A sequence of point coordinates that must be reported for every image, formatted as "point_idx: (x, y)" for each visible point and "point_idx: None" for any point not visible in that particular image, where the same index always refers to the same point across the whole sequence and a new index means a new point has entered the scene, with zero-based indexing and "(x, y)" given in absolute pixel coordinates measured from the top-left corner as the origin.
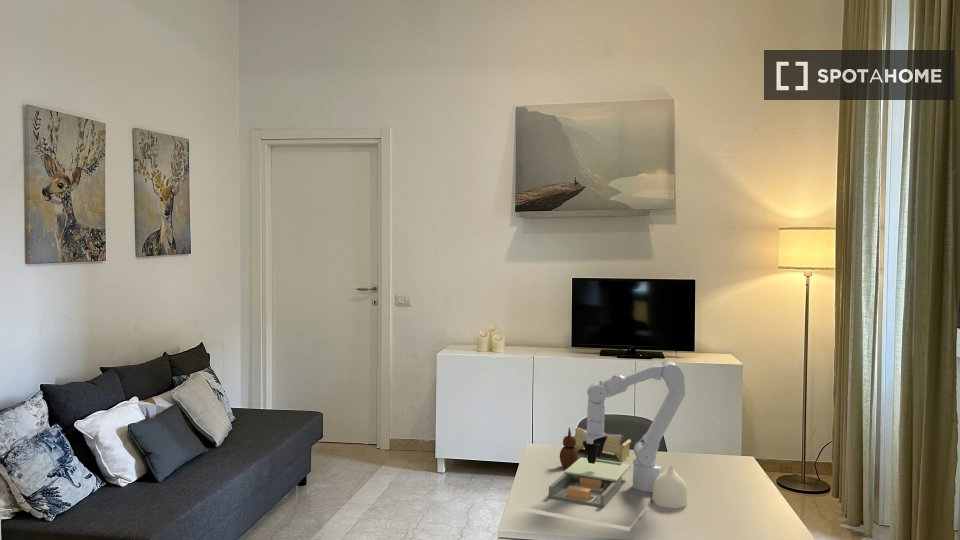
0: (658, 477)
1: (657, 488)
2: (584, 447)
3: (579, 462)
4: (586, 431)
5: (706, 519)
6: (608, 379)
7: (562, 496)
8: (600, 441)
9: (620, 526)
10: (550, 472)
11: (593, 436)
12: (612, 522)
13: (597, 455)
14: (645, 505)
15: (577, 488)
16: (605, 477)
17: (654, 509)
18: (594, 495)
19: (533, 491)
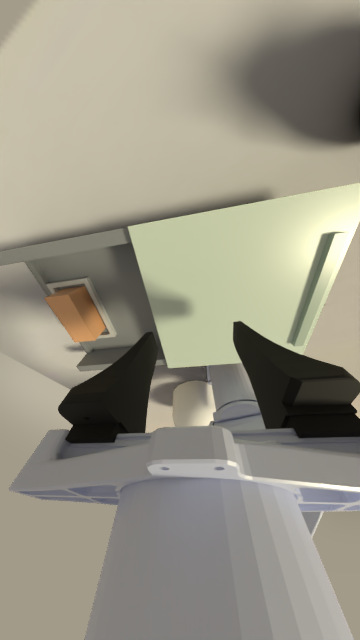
0: (191, 424)
1: (177, 410)
2: (92, 378)
3: (279, 220)
4: (207, 475)
5: (165, 421)
6: None
7: (63, 275)
8: (264, 400)
9: (70, 379)
10: (278, 46)
11: (90, 498)
12: (71, 370)
13: (234, 336)
14: (161, 380)
15: (69, 317)
16: (166, 348)
17: (155, 389)
18: (127, 325)
19: (32, 154)
